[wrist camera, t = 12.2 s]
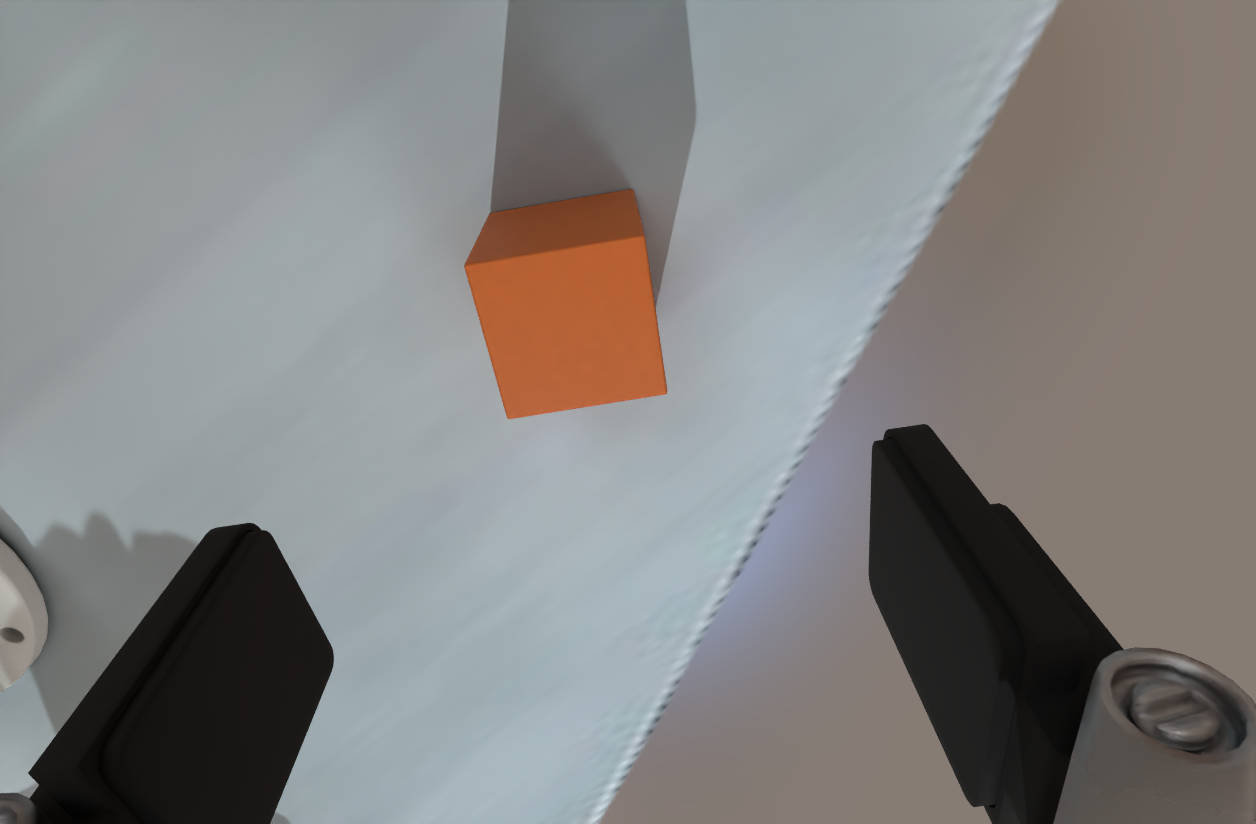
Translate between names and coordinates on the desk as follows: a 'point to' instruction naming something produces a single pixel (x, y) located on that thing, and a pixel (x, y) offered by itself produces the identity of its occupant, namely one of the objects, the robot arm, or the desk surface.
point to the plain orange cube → (567, 304)
